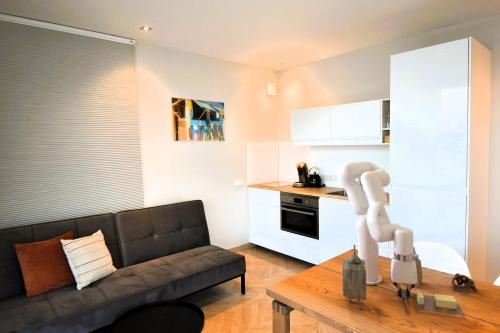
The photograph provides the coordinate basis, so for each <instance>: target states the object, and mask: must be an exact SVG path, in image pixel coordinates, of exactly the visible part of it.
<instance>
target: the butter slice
mask: <svg viewBox="0 0 500 333" xmlns="http://www.w3.org/2000/svg"><path fill="white" fill-rule="evenodd" d="M416 294H417V301H418V304H422V305H424V296H423V295H424V293H423V292H422V291H416Z"/></svg>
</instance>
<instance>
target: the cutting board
mask: <svg viewBox="0 0 500 333" xmlns="http://www.w3.org/2000/svg"><path fill="white" fill-rule="evenodd" d="M411 294H412V296H413V300H414V303H415V306H416V309H417V311H425V312H431V313H432V312H433V313H441V314H447V315H453V316H462V317H465V314H464V313H463V310H462V309H461V307H460V305H459V303H457V309H451V308H444V307H437V306H436V304H435V302H434V295H429V294H423V296H424V305H422V304H418V301H417V293H413V292H412V293H411Z"/></svg>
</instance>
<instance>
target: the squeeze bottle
mask: <svg viewBox="0 0 500 333" xmlns="http://www.w3.org/2000/svg"><path fill="white" fill-rule="evenodd" d="M413 254H415V255H417V258H414V260H415V263H416V269H417V279H418V282H419V284H420V285H421V283H422V280H423V278H424V277H423V267H422V260H421V259H420V256H419V254H417V252H416V248H415V247H414V246H413Z"/></svg>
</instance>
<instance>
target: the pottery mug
mask: <svg viewBox="0 0 500 333" xmlns="http://www.w3.org/2000/svg"><path fill="white" fill-rule="evenodd" d="M455 282H456V283H455ZM451 289H452V290H454V291H456V292H461V293H463V292H467V291H470V292H473V290H472V289H474V290H475V291H478V289H477V287H476V284H475V281H474V280H473V279H471V277H469V276H468V275H465V274H460V273H458V272H457V273H455V274H454V276H453V277H452V278H451Z"/></svg>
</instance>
